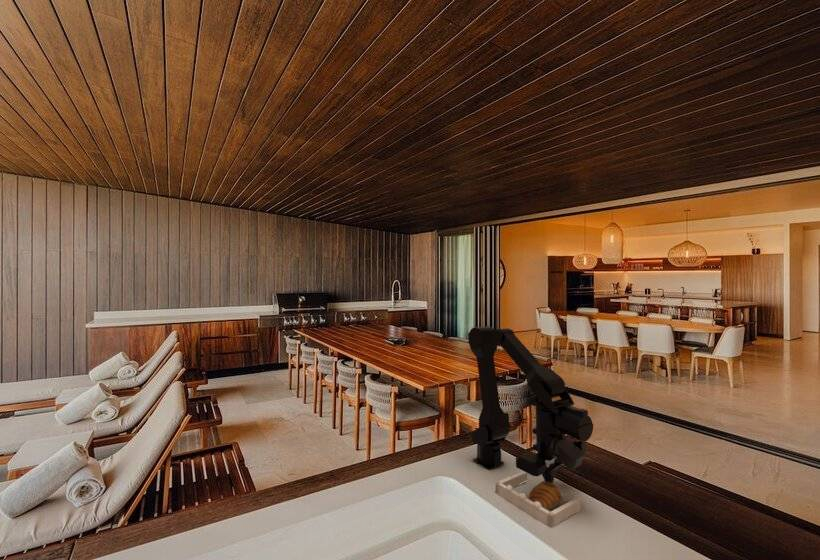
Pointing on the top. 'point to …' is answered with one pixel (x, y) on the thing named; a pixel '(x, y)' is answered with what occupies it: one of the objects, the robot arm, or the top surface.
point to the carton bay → (534, 508)
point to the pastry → (546, 495)
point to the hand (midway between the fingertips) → (549, 487)
